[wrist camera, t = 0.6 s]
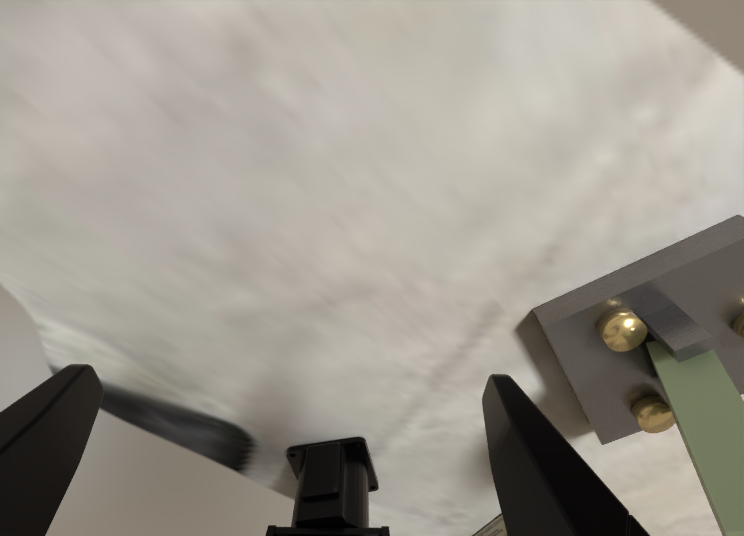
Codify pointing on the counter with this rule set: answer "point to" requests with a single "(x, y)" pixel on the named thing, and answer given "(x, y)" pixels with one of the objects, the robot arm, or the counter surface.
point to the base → (650, 328)
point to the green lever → (708, 428)
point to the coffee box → (494, 528)
